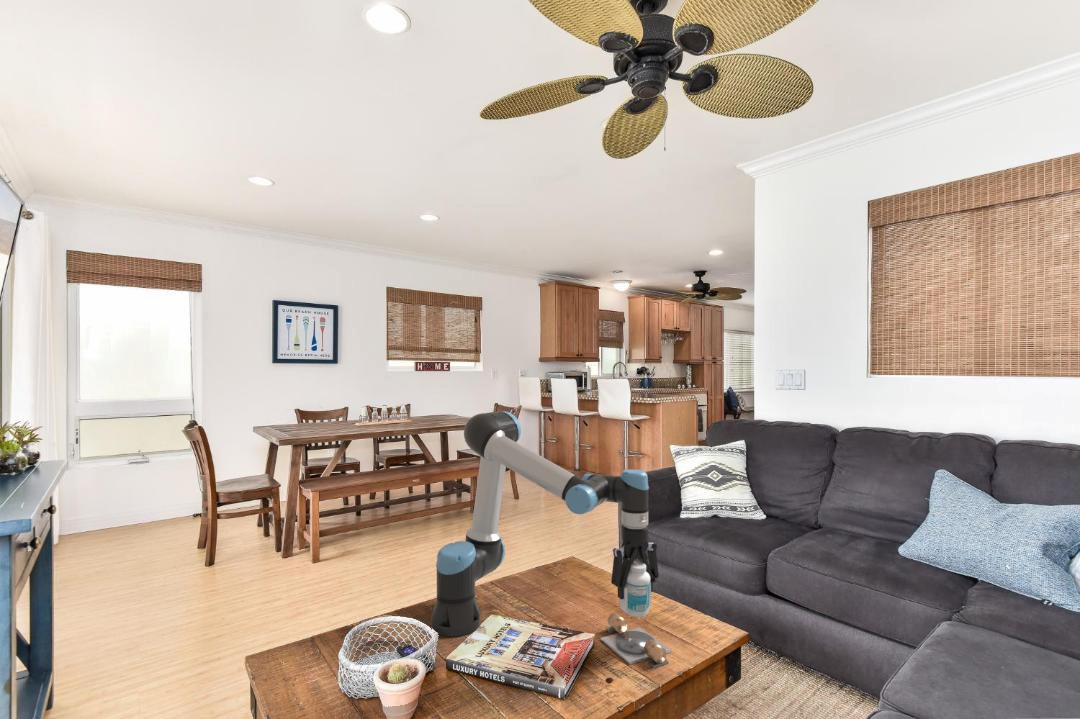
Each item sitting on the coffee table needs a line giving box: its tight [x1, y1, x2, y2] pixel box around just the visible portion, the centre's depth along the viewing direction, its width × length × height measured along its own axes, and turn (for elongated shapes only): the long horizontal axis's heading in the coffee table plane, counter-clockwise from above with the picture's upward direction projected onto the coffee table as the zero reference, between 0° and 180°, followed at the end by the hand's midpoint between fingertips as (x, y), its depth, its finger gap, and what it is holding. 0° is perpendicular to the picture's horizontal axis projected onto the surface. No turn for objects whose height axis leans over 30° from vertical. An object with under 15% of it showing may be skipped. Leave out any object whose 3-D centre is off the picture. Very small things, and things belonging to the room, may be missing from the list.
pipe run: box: [600, 612, 672, 669], centre depth 147 cm, size 22×14×5 cm, turn 26°
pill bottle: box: [623, 560, 650, 618], centre depth 147 cm, size 8×7×14 cm
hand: (635, 606), depth 147 cm, fingers closed on pill bottle, 7 cm apart
